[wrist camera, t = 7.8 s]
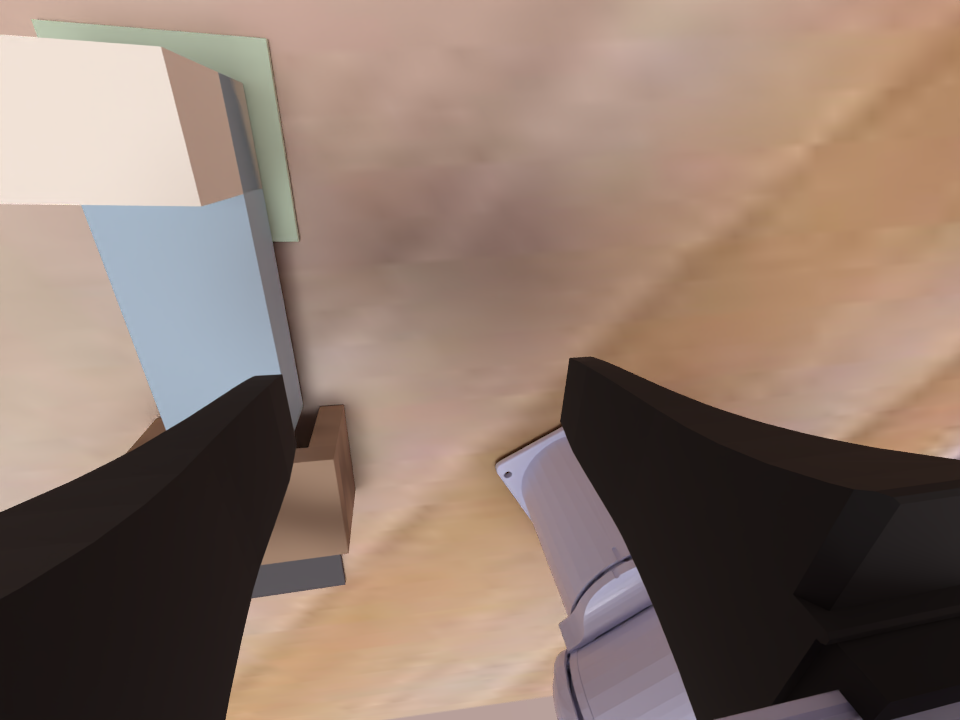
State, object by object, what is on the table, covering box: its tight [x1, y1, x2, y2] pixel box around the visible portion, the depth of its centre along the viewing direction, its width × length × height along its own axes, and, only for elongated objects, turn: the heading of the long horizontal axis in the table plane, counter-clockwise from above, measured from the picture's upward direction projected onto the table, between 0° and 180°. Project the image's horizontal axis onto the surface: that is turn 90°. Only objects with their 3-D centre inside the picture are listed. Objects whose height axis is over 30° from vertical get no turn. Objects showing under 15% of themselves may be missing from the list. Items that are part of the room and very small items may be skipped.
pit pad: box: [251, 554, 346, 598], centre depth 26 cm, size 6×6×1 cm
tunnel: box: [127, 405, 355, 565], centre depth 20 cm, size 6×9×4 cm
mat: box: [31, 19, 300, 242], centre depth 16 cm, size 7×7×1 cm
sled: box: [0, 35, 303, 431], centre depth 15 cm, size 14×5×6 cm, turn 178°
